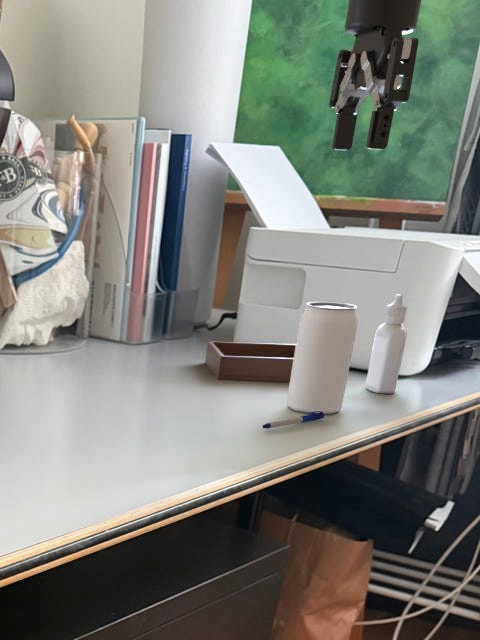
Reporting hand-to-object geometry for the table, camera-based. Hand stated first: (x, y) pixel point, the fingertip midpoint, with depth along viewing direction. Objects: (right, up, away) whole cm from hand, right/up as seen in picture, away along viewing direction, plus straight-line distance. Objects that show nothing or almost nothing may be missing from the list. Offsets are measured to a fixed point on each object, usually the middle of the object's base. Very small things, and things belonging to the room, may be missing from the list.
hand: (357, 149), depth 109 cm
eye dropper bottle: (+9, -24, +16) cm, 30 cm away
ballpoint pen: (-8, -33, -3) cm, 34 cm away
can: (-4, -29, +5) cm, 30 cm away
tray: (-4, -19, +25) cm, 31 cm away
